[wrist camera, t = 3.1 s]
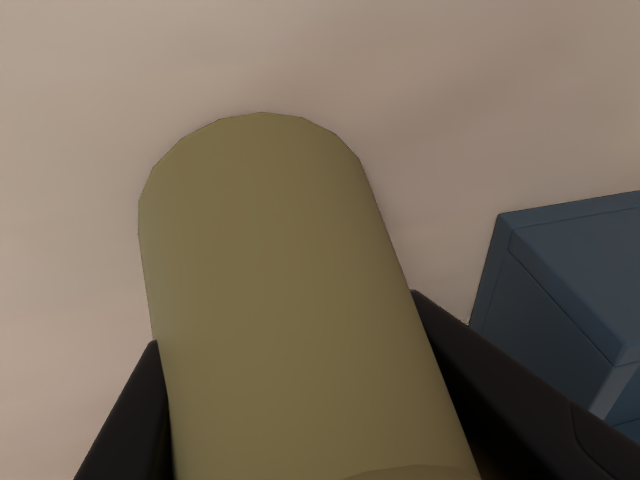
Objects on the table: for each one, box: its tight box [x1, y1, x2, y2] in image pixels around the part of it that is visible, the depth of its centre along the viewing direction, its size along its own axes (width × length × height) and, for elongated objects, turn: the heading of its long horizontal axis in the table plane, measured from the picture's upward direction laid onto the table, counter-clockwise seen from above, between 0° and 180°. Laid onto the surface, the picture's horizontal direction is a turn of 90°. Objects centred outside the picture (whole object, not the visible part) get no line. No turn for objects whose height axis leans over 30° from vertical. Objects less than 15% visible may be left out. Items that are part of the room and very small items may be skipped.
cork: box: [138, 112, 482, 480], centre depth 8 cm, size 6×6×11 cm
